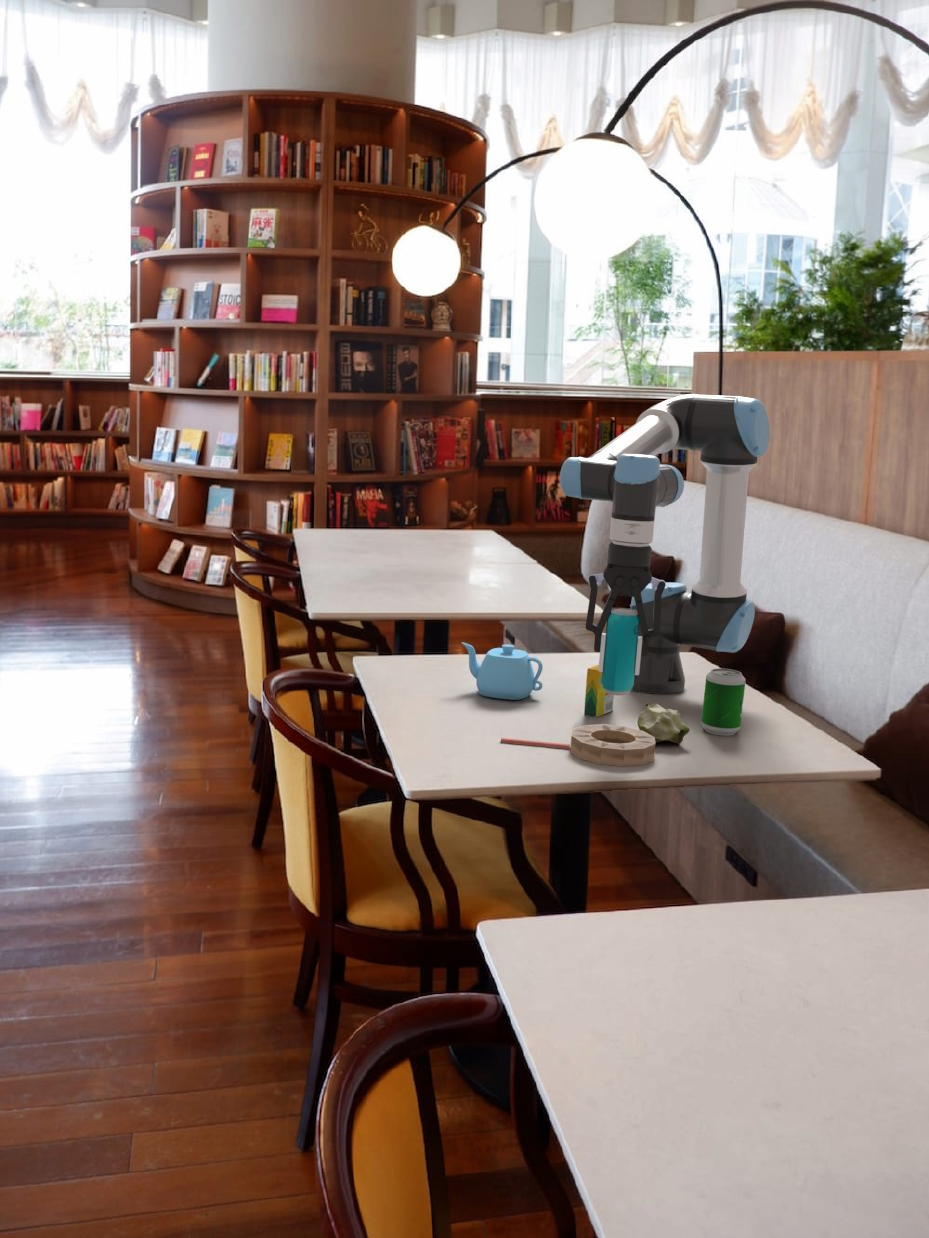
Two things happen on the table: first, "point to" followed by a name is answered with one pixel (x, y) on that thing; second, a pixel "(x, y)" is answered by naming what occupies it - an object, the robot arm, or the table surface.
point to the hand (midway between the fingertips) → (618, 671)
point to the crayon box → (596, 694)
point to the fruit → (662, 724)
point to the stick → (535, 743)
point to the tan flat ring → (612, 745)
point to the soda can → (723, 701)
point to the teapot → (505, 672)
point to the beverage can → (620, 651)
